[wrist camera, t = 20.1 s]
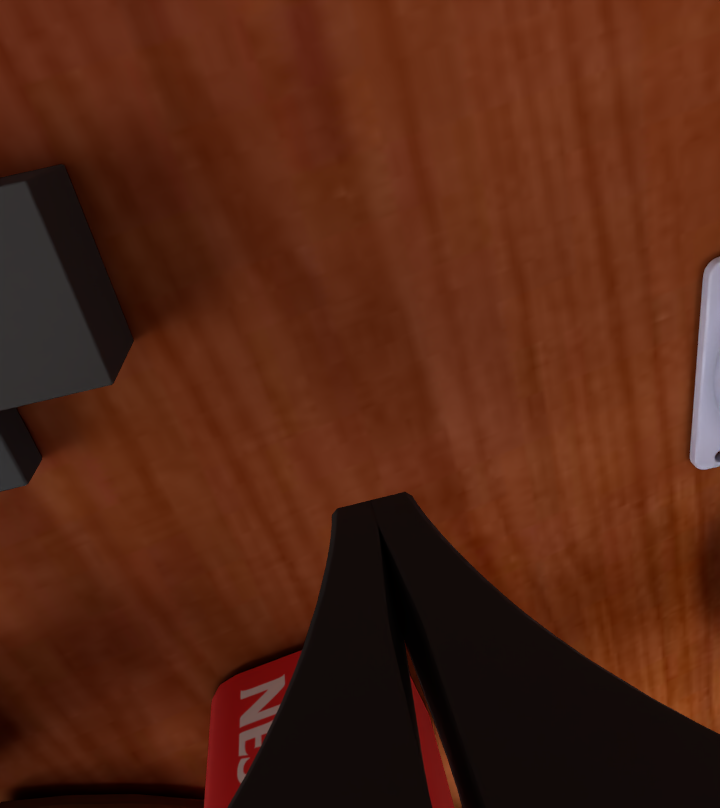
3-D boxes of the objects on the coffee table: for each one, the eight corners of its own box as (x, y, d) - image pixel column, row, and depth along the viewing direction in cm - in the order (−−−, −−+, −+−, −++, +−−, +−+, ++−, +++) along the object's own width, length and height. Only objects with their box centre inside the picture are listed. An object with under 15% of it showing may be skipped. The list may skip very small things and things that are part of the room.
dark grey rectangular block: (64, 163, 16) (26, 180, 13) (134, 341, 18) (113, 385, 16) (-92, 198, 16) (-163, 221, 13) (-1, 372, 18) (-46, 422, 16)
